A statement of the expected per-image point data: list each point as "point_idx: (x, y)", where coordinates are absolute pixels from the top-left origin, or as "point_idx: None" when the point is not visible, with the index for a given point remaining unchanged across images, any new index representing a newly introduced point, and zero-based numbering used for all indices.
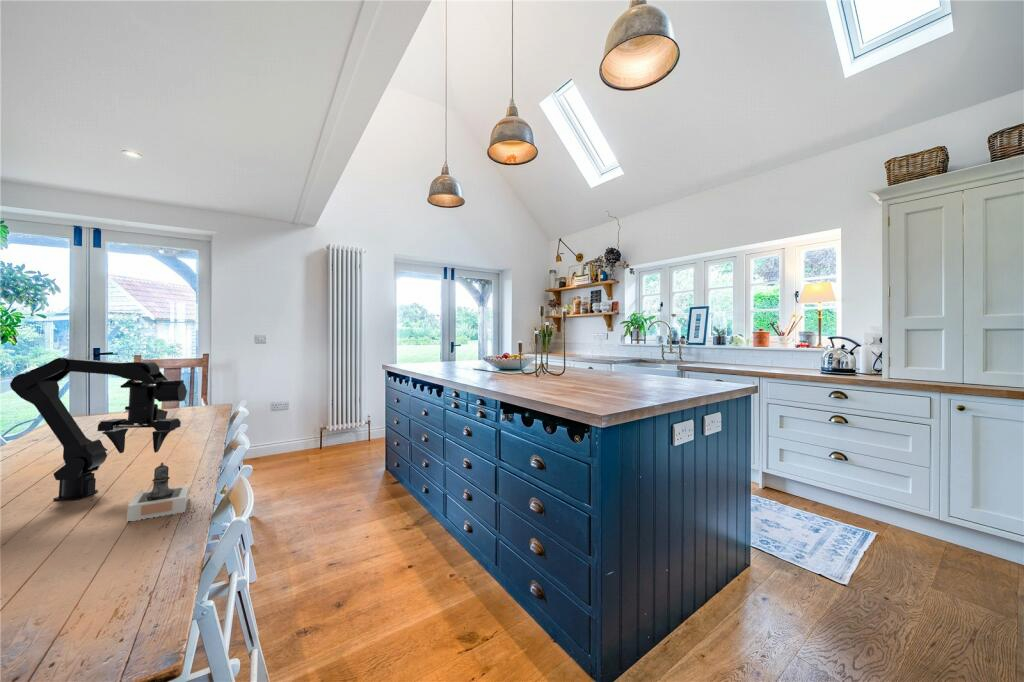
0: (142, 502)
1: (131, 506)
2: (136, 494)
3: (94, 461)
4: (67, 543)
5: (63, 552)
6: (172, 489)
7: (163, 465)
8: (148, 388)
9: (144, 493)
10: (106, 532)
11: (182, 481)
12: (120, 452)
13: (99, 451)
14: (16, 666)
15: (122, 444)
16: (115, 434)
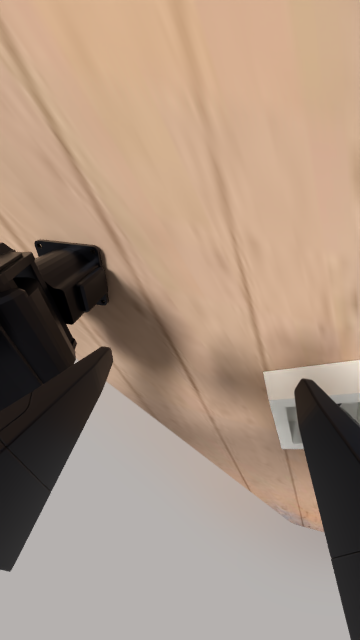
0: (301, 443)
1: (287, 447)
2: (272, 409)
3: (65, 364)
4: (232, 444)
5: (241, 456)
6: (355, 422)
7: None
8: None
9: (287, 406)
10: (262, 436)
11: (339, 158)
12: (110, 366)
13: (15, 366)
14: (293, 522)
15: (81, 398)
16: (21, 528)
